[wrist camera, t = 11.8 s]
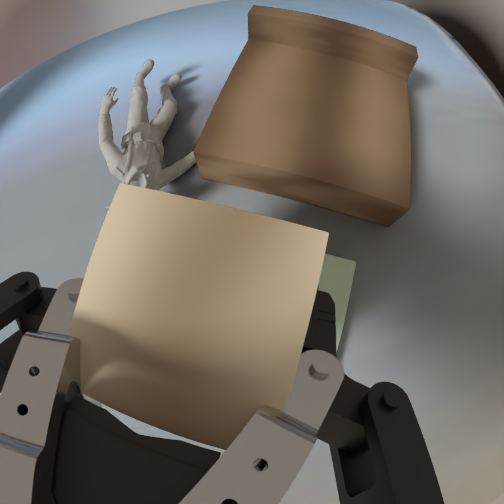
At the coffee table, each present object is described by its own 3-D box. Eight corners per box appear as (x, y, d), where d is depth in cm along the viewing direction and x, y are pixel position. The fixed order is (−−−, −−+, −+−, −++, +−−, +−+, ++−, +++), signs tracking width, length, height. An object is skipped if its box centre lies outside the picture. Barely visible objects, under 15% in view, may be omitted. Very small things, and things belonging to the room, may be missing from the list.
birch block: (158, 358, 13) (59, 380, 5) (187, 259, 14) (120, 182, 7) (260, 389, 13) (268, 459, 5) (288, 286, 14) (329, 232, 6)
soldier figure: (212, 92, 21) (235, 193, 15) (179, 133, 24) (183, 244, 18) (130, 47, 16) (89, 130, 10) (100, 97, 19) (59, 205, 13)
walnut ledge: (201, 178, 18) (184, 123, 13) (253, 57, 21) (253, 5, 16) (388, 226, 17) (432, 188, 12) (393, 92, 20) (415, 46, 15)
